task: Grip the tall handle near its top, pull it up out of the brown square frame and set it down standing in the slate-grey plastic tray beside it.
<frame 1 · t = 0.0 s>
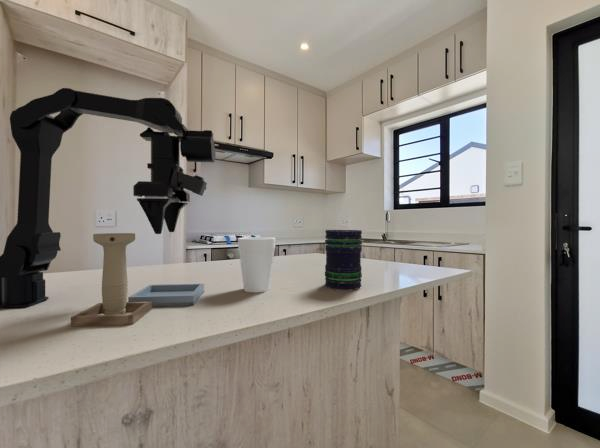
hand: (165, 232, 66), 15 cm above the counter, tool pointing down, fingers open, 9 cm apart
storage jar: (343, 286, 81), on the counter
tray: (169, 298, 67), on the counter
brown square frame: (115, 317, 54), on the counter
foam cup: (256, 290, 76), on the counter
handle: (115, 318, 54), resting in brown square frame
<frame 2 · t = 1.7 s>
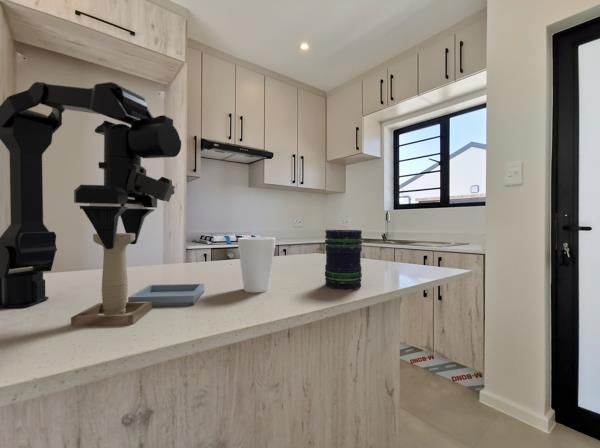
hand: (122, 246, 54), 13 cm above the counter, tool pointing down, fingers open, 9 cm apart
nothing on the counter moved.
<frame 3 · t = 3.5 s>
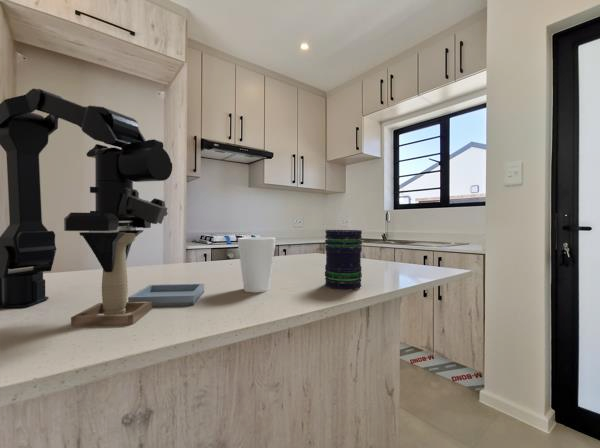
hand: (114, 269, 54), 9 cm above the counter, tool pointing down, fingers closed on handle, 4 cm apart
handle: (115, 318, 54), resting in brown square frame, touching gripper
everything else where it was.
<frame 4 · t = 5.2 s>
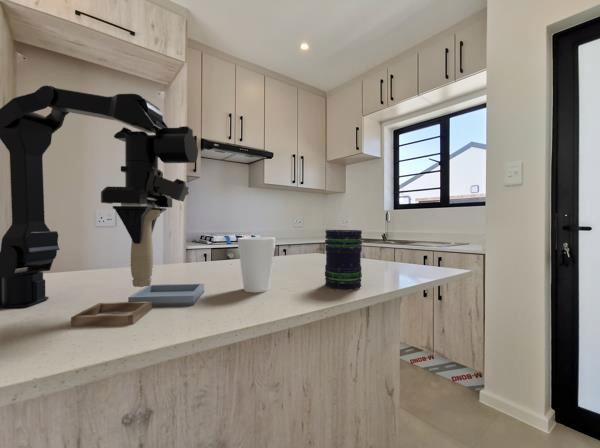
hand: (142, 242, 60), 13 cm above the counter, tool pointing down, fingers closed on handle, 4 cm apart
handle: (142, 286, 60), point 4 cm above the counter, touching gripper
everything else where it was.
when the fingers open (10 cm above the counter, at t = 7.1 s): handle stays where it is, resting on tray.
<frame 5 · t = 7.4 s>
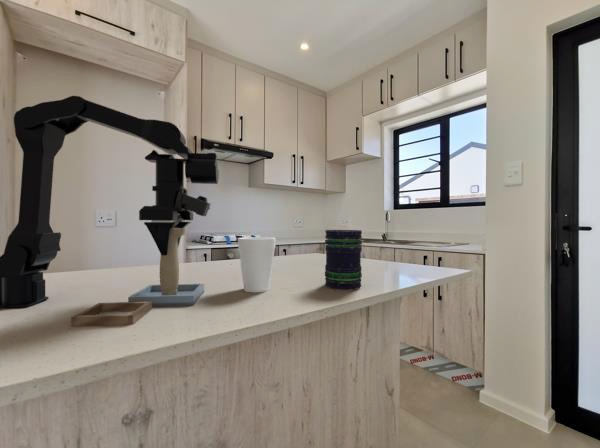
hand: (169, 253, 67), 10 cm above the counter, tool pointing down, fingers open, 7 cm apart
handle: (169, 296, 67), resting on tray
everything else where it was.
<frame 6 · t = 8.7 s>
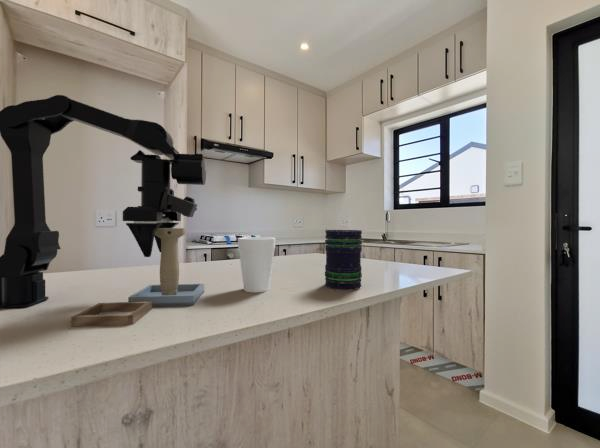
hand: (155, 254, 66), 10 cm above the counter, tool pointing down, fingers open, 9 cm apart
nothing on the counter moved.
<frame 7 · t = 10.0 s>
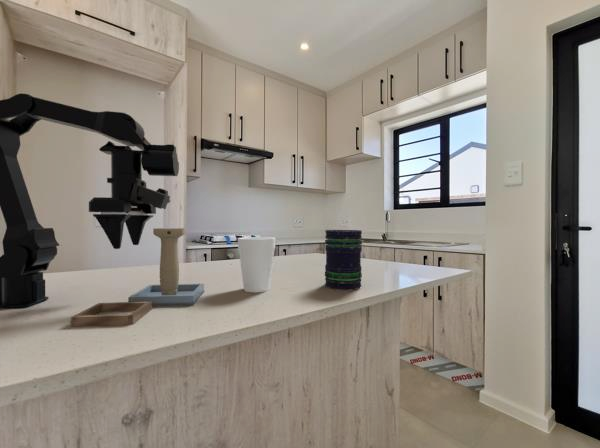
hand: (127, 246, 66), 12 cm above the counter, tool pointing down, fingers open, 9 cm apart
nothing on the counter moved.
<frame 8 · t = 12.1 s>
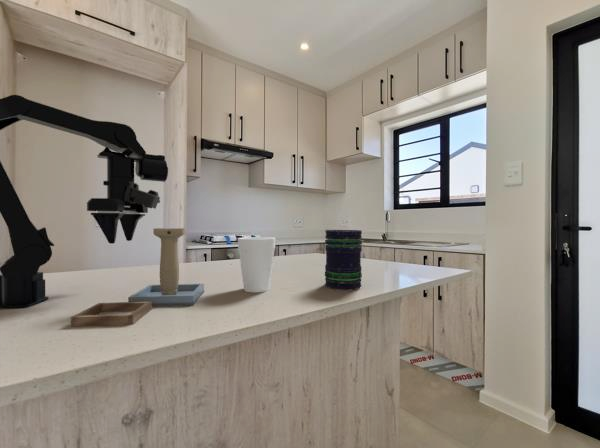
hand: (121, 241, 74), 12 cm above the counter, tool pointing down, fingers open, 9 cm apart
nothing on the counter moved.
at the end: handle inside the target area on the tray (0.1 cm from its centre), point 0.4 cm above the tray's base; the gripper is holding nothing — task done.
